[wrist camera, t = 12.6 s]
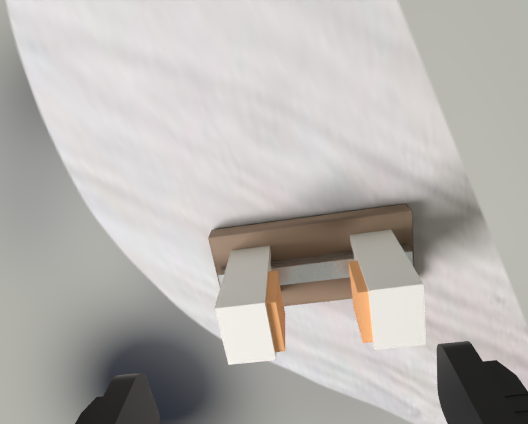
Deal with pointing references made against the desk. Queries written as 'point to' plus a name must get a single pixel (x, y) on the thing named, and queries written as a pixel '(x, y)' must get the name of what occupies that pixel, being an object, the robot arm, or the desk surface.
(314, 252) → the rail
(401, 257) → the white block with pad
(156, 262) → the desk surface
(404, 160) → the desk surface
